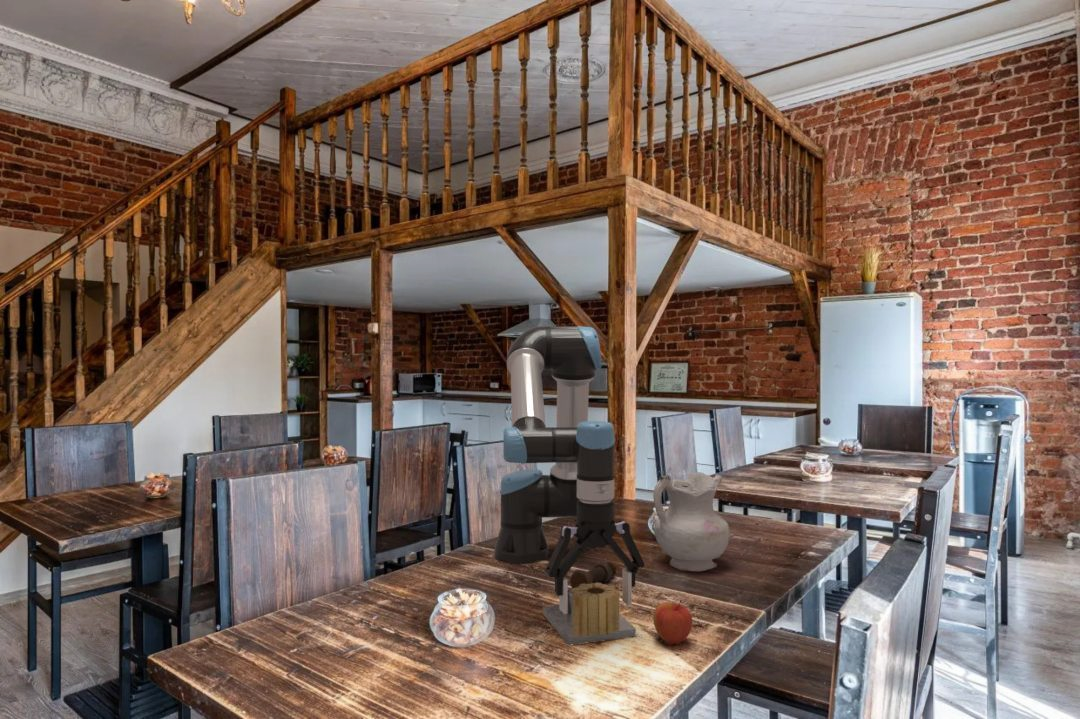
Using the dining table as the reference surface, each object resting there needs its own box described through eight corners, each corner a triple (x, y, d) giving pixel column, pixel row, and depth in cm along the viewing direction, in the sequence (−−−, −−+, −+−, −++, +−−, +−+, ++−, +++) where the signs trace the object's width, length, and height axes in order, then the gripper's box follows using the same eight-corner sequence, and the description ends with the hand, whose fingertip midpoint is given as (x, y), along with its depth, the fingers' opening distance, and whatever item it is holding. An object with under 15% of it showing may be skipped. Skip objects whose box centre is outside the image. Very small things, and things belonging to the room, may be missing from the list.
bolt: (614, 584, 158) (581, 599, 146) (599, 570, 161) (566, 585, 149) (624, 566, 156) (592, 580, 144) (609, 552, 159) (576, 565, 147)
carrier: (542, 614, 134) (542, 581, 134) (603, 606, 138) (603, 574, 138) (568, 646, 119) (568, 608, 119) (635, 636, 123) (635, 600, 123)
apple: (650, 633, 124) (650, 592, 124) (687, 633, 124) (687, 593, 124) (656, 650, 117) (656, 607, 117) (696, 650, 117) (695, 607, 117)
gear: (582, 638, 118) (582, 601, 118) (566, 619, 127) (566, 585, 127) (627, 632, 121) (627, 596, 121) (607, 614, 130) (607, 580, 130)
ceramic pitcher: (692, 588, 153) (699, 487, 152) (631, 562, 167) (637, 470, 166) (740, 569, 167) (747, 477, 166) (680, 547, 182) (686, 462, 180)
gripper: (541, 508, 117) (541, 622, 117) (660, 499, 125) (661, 606, 124) (529, 500, 124) (530, 607, 124) (643, 492, 132) (643, 593, 131)
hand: (595, 607), depth 124 cm, fingers open, 13 cm apart
